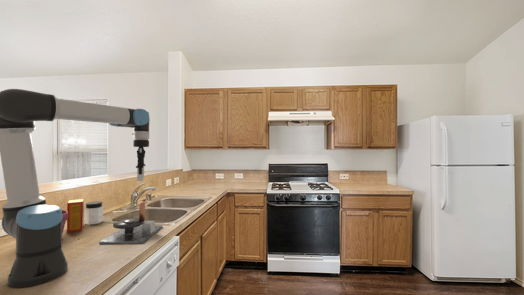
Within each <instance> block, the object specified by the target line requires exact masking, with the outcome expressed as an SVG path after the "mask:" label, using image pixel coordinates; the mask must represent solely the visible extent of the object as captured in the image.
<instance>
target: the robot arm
mask: <svg viewBox="0 0 524 295" xmlns="http://www.w3.org/2000/svg"><path fill="white" fill-rule="evenodd" d="M150 119H151V118H150V112H149V111H147V110H146V109H143V108H128V107H122V106H121V107H120V106H113V105H108V104H100V103H94V102H93V103H92V102H85V101H80V100H79V101H77V100H71V99H64V98H59V97H58V98H57V97H56V96H55V95H54V94H50V93H43V92H38V91H32V90H27V89H19V88H8V89H4V90H1V91H0V160H1V167H2V168H1V169H2V174H3V182H4V187H5V188H4V189H5V193H6V198H7V199H6V200H7V201H6V202H5V203H4V204H3V205H1V210H2V219H1V227H2V230H3V231H4V232H5V234H7V235H9V236H10V237H13V238H14V239H15V259H14V262H13V263H12V266H11V270H10V272H9V274H8V275H7V285H8V287H10V288H17V289H19V288H27V287H33V286H38V285H41V284H44V283H47V282H50V281H52V280H54V279H57V278H59V277H61V276H63V275H64V274H66V272H67V271H68V269H69V268H68V267H69V265H68V260H67V259H66V257H65V256H66V255H65V254H64V251H63V247H62V246H63V245H62V244H63V243H62V242H63V240H62V239H63V233H62V219H63V214H62V210H63V209H62V208H61V207H60V206H59V205H55V204H47V202H46V197H44V196H42V195H40V188H39V184H38V183H39V182H38V174H37V168H36V161H35V153H34V147H33V140H32V139H33V138H32V133H33V132H34V131H35V130H36V123H35V122H54V121H55V120H61V121H62V120H63V121H74V122H75V121H78V122H87V123H88V122H89V123H100V124H101V123H104V124H109V126H112V127H116V128H118V127H121V128H132V129H133V132H132V133H131V135H133V139H134V140H133V142H132V143H133V144H132V145H133V147H134V148H137V150H136V155H137V156H136V157H137V165H136V166H135V169H137V172H136V173H137V175H136V178H137V180H136V181H137V182H143V181H144V178H145V167H146V164H145V157H146V150H145V148H149V146H150V140H149V139H150V121H151V120H150Z"/></svg>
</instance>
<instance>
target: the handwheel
mask: <svg viewBox="0 0 524 295" xmlns="http://www.w3.org/2000/svg"><path fill="white" fill-rule="evenodd" d="M138 204H139V205H138V217H134V218H133V217H132V218H131V217H130V218H125V219H120V220H117V221H114V222H113V223H112V224H113V225H112V226H113V228H114V229H116V230H117V229H119V230H120V229H125V233H132V232H133V227H137V226H142V224H143V223H144V222H146V201H145V200H143V201H142V200H141V201H139V202H138Z"/></svg>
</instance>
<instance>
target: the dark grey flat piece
mask: <svg viewBox="0 0 524 295" xmlns="http://www.w3.org/2000/svg"><path fill="white" fill-rule="evenodd" d="M155 222H156V221H155V220H145V221H144V223H143V224H142V225H140V226H137V227H133V232H132V233H125V229H119V230H117V231H115V232H114V233H111V234H110V235H108V236H107V237H105V238H103V239H102V240H100V241H98V244H99V245H125V244H126V245H129V244H130V245H133V244H134V245H139V244H141V245H142V244H144V243H145V242H147V241H148V240H149V239H150V238H151V237H152V236H154V235H155V234H156V233H157V232H159V231H160V230H161V229H162V228H163V225H162V224H161V225H155V224H156V223H155Z"/></svg>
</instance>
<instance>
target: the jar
mask: <svg viewBox="0 0 524 295" xmlns="http://www.w3.org/2000/svg"><path fill="white" fill-rule="evenodd" d="M103 221H104V206H103V202H102V201H101V200H98V201H90V202H89V201H88V202H86V203H85V207H84V225H89V226H90V225H91V224H92V225H97V224H98V225H99V224H100V223H103ZM92 225H91V226H92Z"/></svg>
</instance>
